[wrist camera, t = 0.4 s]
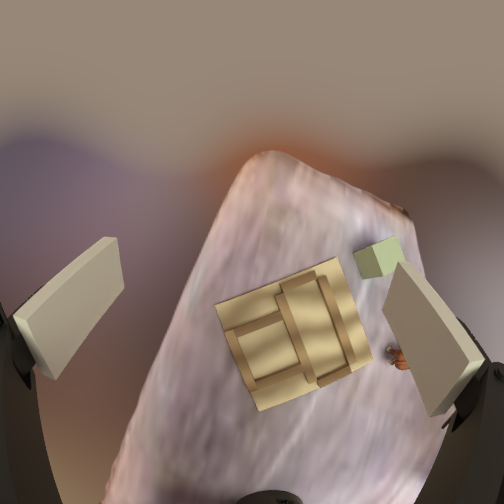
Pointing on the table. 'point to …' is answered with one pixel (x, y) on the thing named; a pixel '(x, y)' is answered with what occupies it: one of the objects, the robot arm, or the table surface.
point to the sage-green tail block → (379, 258)
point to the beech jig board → (295, 334)
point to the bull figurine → (398, 359)
